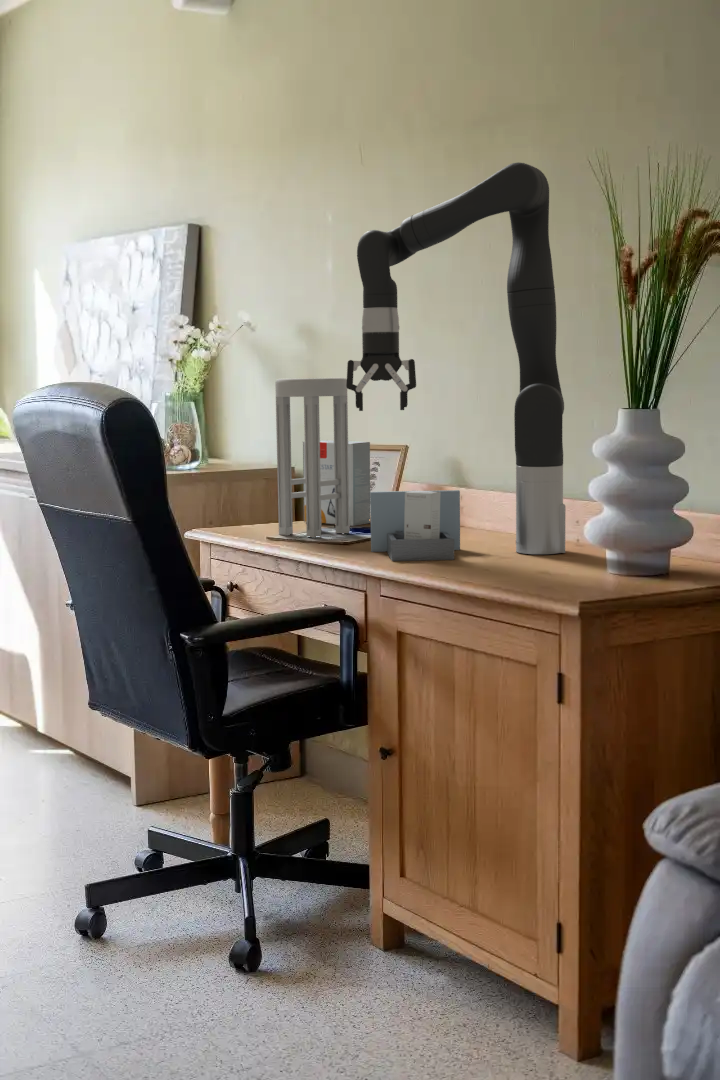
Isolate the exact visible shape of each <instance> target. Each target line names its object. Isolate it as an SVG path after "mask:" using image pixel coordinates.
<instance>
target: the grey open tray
mask: <svg viewBox="0 0 720 1080" xmlns="http://www.w3.org/2000/svg"><path fill="white" fill-rule="evenodd" d="M386 553H387V555H388V557H389V558H390V559H389V560H390V561H391V562H404V561H405V562H409V561H411V562H412V561H416V562H417V561H450V560H451V561H452V560H455V550H454V538H453V537H452V536H451V535H449V534H448V533H447V532H440V534H439V539H404V533H402V530H399V531H396V533H387V551H386Z"/></svg>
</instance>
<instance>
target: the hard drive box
mask: <svg viewBox="0 0 720 1080" xmlns="http://www.w3.org/2000/svg"><path fill="white" fill-rule="evenodd" d="M348 465H349V527H350V526H351V527H354V526H359V525H367V524H371V507H370V492H371V442H370V441H355V440H348ZM302 466H303V467H302V470H303V471H302V472H303V477H302V478H305V440H304V441H302ZM320 478H321V481H324V480H335V469H334V439H332V440H328V439H326V440H325V439H320ZM302 488H303V492H305V491H306V483H305V484H303V487H302ZM331 493H335V485H330V486H321V495H322V494H331ZM369 519H370V521H369ZM303 522H304V523H306V497H303ZM321 524H327V525H335V499H328V500H321Z"/></svg>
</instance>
